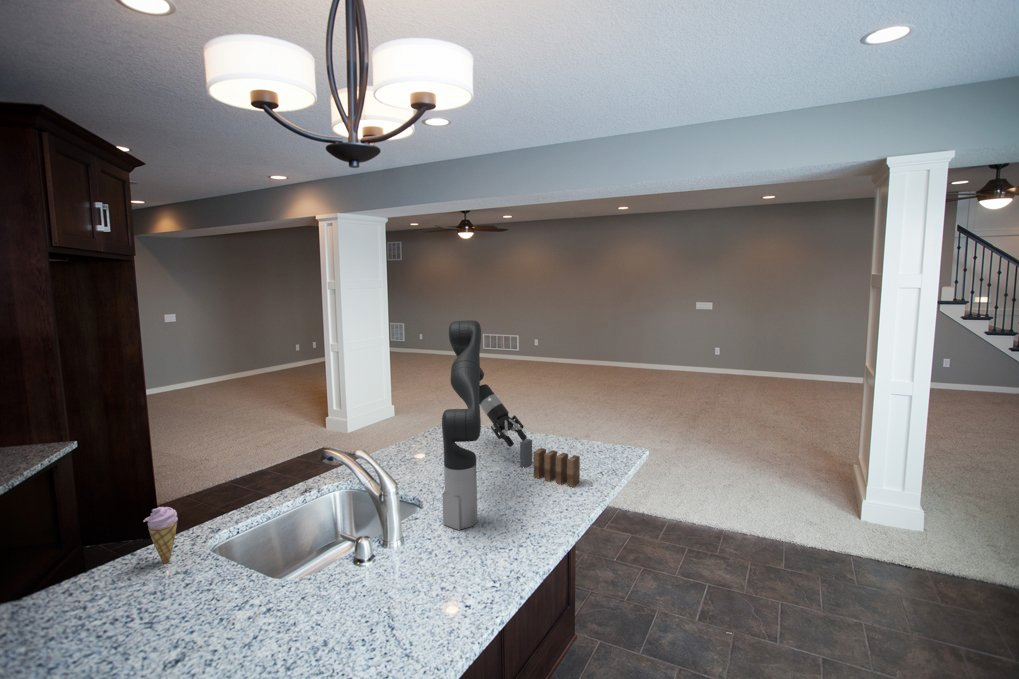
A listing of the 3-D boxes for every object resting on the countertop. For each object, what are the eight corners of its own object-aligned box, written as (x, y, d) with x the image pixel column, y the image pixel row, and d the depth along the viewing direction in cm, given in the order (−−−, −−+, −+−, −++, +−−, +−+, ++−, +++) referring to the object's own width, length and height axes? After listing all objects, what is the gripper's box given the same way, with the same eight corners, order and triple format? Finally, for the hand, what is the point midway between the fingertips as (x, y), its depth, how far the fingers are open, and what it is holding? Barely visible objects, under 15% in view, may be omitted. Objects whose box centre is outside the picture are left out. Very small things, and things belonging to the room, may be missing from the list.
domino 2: (538, 479, 179) (538, 452, 178) (533, 477, 181) (533, 451, 179) (546, 474, 183) (546, 448, 182) (541, 473, 185) (541, 447, 183)
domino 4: (560, 484, 174) (560, 457, 173) (555, 483, 175) (555, 456, 174) (568, 480, 178) (568, 453, 177) (563, 478, 179) (563, 452, 178)
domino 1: (524, 468, 190) (524, 443, 189) (520, 466, 191) (520, 442, 190) (532, 464, 194) (532, 439, 193) (527, 462, 195) (527, 438, 194)
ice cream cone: (144, 570, 125) (138, 512, 123) (154, 557, 131) (149, 501, 129) (175, 566, 126) (170, 508, 125) (184, 553, 132) (179, 498, 131)
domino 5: (572, 487, 171) (572, 460, 170) (567, 486, 173) (567, 459, 172) (579, 483, 175) (579, 456, 174) (574, 481, 177) (574, 455, 176)
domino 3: (549, 481, 177) (549, 455, 176) (544, 480, 178) (544, 454, 177) (557, 477, 181) (557, 451, 180) (552, 476, 182) (552, 450, 181)
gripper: (488, 406, 191) (513, 442, 186) (510, 399, 203) (534, 432, 197) (477, 418, 195) (502, 453, 190) (500, 410, 207) (523, 443, 201)
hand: (518, 442), depth 194 cm, fingers open, 8 cm apart
